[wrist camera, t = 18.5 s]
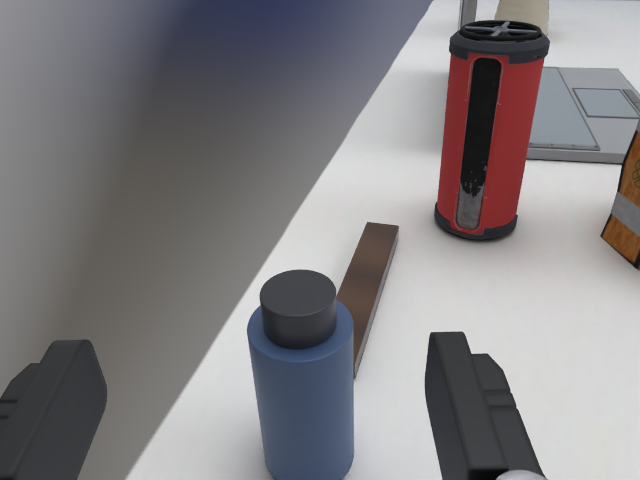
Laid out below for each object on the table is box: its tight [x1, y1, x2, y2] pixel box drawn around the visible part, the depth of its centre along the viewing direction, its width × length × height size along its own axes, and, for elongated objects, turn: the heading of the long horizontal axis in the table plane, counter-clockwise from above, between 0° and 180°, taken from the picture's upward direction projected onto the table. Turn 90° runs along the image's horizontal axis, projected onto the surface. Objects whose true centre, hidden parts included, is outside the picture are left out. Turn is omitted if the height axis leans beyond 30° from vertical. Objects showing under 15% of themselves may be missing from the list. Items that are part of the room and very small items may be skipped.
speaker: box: [434, 20, 550, 240], centre depth 49 cm, size 8×8×18 cm
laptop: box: [458, 0, 640, 163], centre depth 71 cm, size 35×26×27 cm
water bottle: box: [247, 270, 354, 480], centre depth 29 cm, size 5×5×12 cm
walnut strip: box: [336, 222, 399, 379], centre depth 44 cm, size 18×3×2 cm, turn 164°
